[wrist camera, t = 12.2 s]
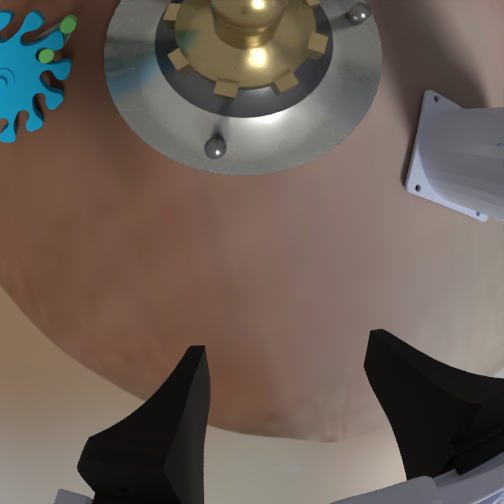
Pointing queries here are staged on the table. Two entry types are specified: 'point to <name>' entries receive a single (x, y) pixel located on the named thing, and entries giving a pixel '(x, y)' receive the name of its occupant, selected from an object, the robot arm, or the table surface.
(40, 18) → the gear
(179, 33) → the planet gear
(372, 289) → the table surface
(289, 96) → the carrier plate
